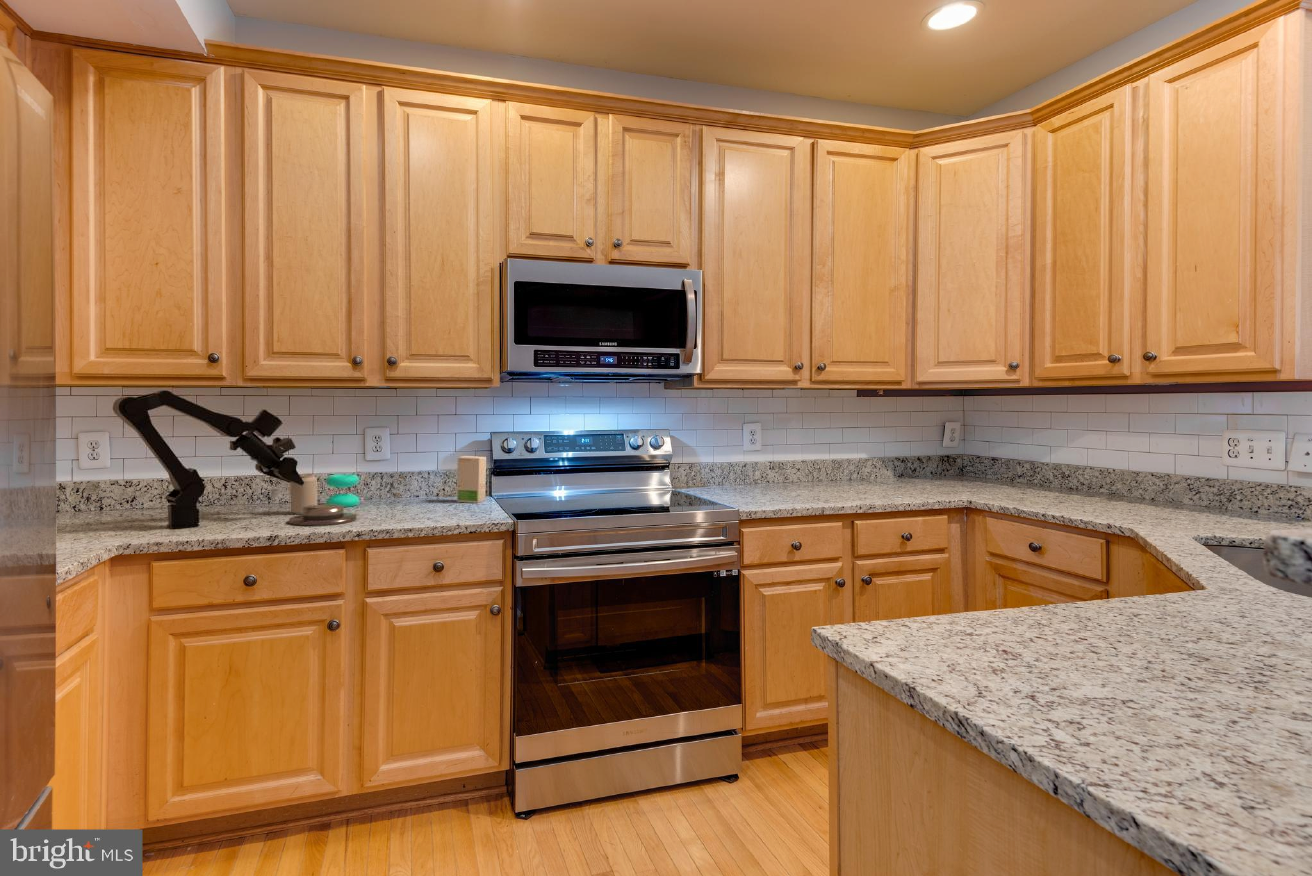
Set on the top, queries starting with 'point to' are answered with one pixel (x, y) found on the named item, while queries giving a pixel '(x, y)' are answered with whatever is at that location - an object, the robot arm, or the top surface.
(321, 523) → the duct stub
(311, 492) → the can
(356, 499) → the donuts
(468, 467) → the skincare box
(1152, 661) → the top surface
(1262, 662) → the top surface
